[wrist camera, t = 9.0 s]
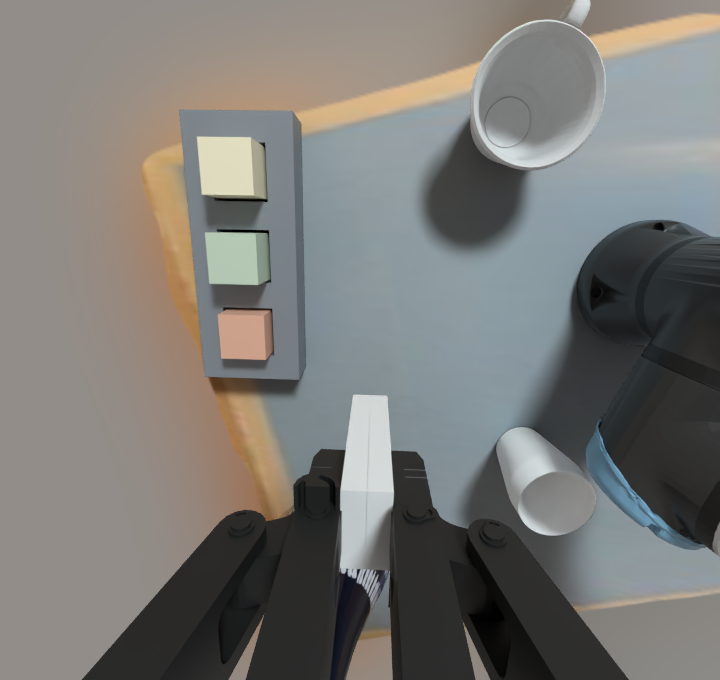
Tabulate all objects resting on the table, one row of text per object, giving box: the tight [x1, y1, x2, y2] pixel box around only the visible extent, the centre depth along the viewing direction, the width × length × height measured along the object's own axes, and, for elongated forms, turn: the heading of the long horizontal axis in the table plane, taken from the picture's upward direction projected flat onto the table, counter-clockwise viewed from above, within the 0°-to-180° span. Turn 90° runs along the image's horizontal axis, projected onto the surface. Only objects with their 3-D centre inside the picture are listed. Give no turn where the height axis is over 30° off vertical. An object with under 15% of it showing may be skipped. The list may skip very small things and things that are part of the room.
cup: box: [496, 427, 596, 536], centre depth 50 cm, size 9×9×12 cm
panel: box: [179, 110, 306, 380], centre depth 47 cm, size 30×12×5 cm, turn 179°
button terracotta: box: [218, 307, 274, 360], centre depth 48 cm, size 5×5×6 cm
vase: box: [287, 508, 389, 680], centre depth 46 cm, size 16×16×30 cm
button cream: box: [197, 137, 268, 200], centre depth 41 cm, size 5×5×6 cm
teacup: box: [470, 0, 606, 171], centre depth 39 cm, size 12×15×10 cm
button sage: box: [205, 232, 271, 285], centre depth 44 cm, size 5×5×6 cm
